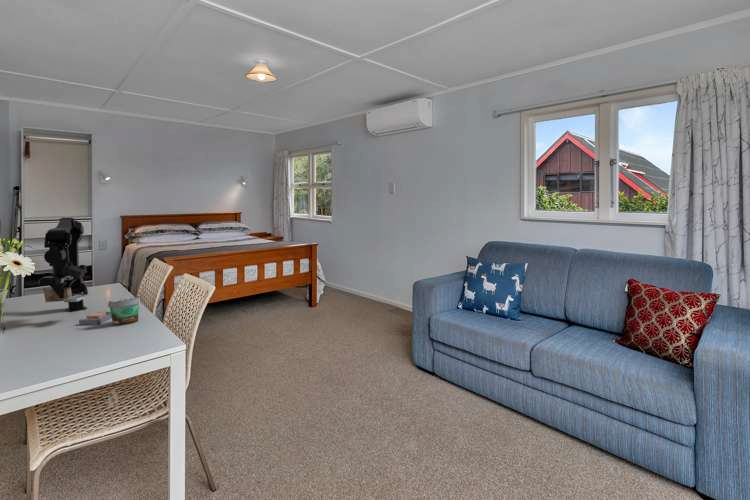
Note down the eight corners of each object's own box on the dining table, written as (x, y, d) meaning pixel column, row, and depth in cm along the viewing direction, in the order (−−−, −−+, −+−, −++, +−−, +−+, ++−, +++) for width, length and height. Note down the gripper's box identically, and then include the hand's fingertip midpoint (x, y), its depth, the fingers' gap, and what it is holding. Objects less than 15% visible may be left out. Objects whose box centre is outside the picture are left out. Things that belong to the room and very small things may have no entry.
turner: (40, 304, 167) (38, 291, 167) (54, 299, 175) (52, 287, 175) (77, 301, 169) (75, 289, 168) (89, 296, 176) (87, 285, 176)
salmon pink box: (86, 323, 171) (86, 315, 171) (94, 319, 176) (93, 312, 176) (99, 322, 171) (98, 315, 171) (106, 319, 176) (105, 312, 176)
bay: (79, 324, 168) (78, 320, 167) (96, 316, 179) (96, 311, 179) (99, 324, 168) (99, 319, 168) (116, 316, 180) (115, 311, 180)
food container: (117, 328, 164) (115, 303, 162) (109, 325, 167) (107, 301, 166) (148, 320, 174) (146, 297, 173) (139, 318, 177) (138, 295, 176)
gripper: (66, 264, 161) (70, 303, 163) (94, 256, 180) (97, 292, 182) (36, 264, 160) (40, 303, 162) (67, 256, 179) (70, 292, 181)
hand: (64, 297), depth 172 cm, fingers closed on turner, 2 cm apart
